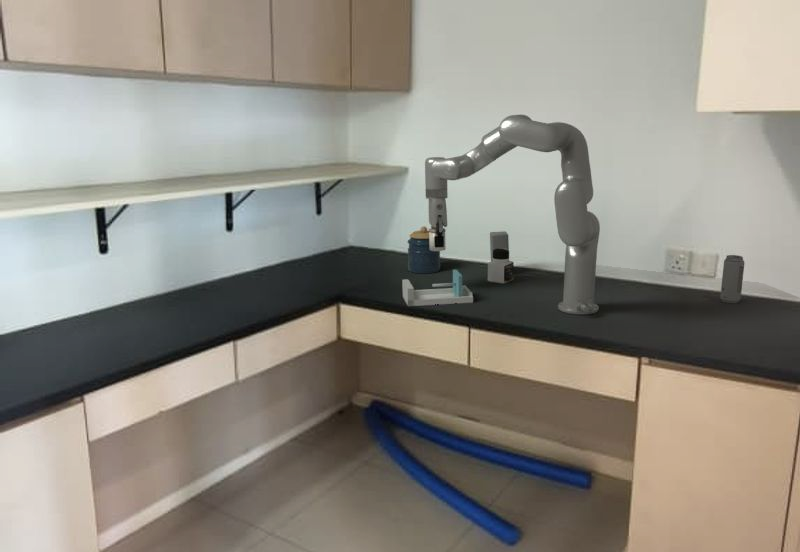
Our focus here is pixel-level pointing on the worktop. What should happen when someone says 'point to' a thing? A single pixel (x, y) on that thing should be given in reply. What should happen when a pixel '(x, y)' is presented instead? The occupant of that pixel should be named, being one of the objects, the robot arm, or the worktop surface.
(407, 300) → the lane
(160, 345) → the worktop surface
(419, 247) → the canister
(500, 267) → the medicine bottle
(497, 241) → the skincare box
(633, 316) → the worktop surface
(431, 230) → the jar
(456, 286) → the pusher
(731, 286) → the energy drink can
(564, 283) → the robot arm
